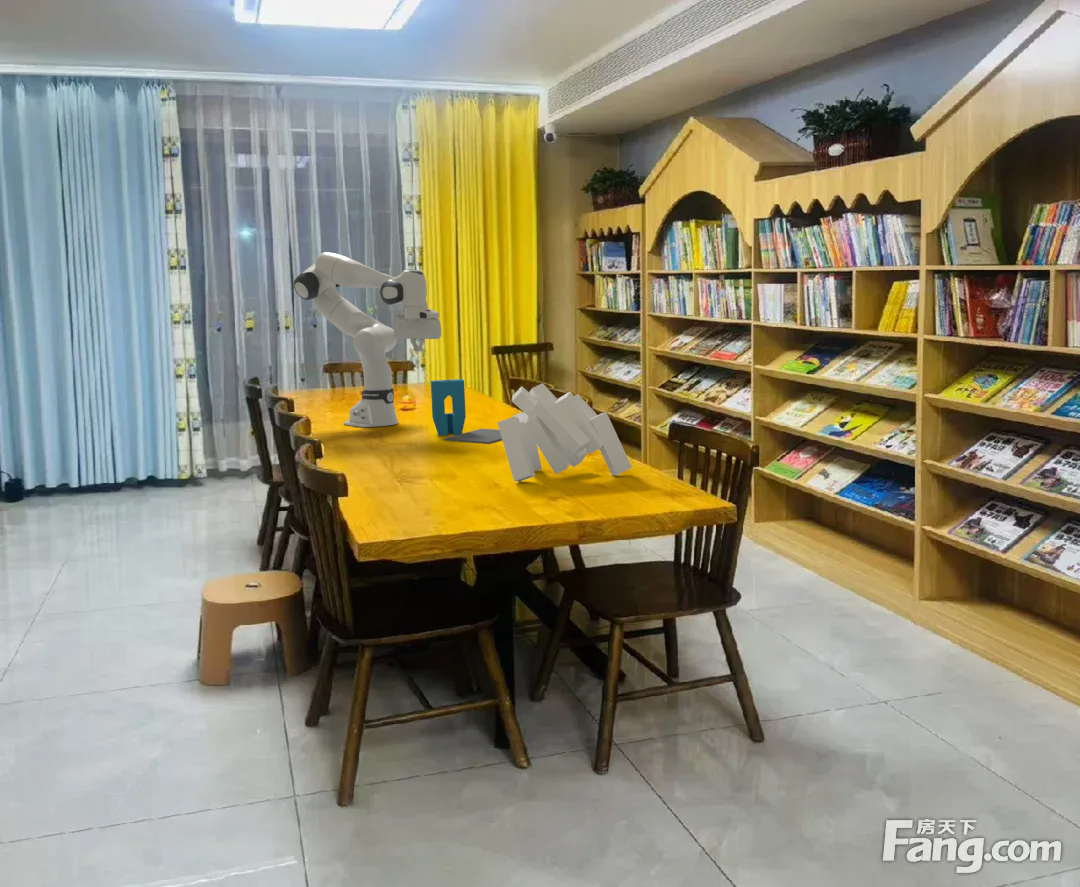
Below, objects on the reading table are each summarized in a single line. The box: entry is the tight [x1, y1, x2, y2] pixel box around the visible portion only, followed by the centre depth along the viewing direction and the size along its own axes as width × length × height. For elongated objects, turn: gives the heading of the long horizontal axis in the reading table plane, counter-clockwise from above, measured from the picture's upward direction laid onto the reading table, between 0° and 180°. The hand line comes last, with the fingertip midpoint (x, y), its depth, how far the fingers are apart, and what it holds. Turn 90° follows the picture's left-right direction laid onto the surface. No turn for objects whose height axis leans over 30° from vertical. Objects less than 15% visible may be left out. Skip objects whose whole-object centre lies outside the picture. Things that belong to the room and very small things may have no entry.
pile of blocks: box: [497, 383, 633, 482], centre depth 304 cm, size 35×30×35 cm
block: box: [430, 378, 467, 437], centre depth 386 cm, size 12×5×20 cm, turn 102°
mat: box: [442, 428, 502, 445], centre depth 379 cm, size 20×24×1 cm
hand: (418, 351), depth 389 cm, fingers closed
